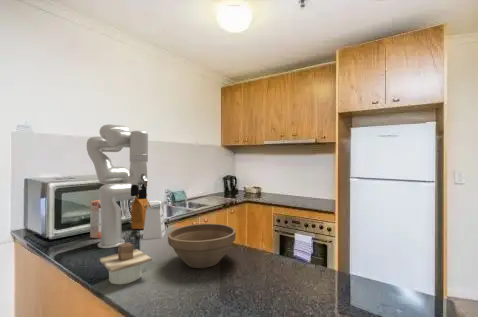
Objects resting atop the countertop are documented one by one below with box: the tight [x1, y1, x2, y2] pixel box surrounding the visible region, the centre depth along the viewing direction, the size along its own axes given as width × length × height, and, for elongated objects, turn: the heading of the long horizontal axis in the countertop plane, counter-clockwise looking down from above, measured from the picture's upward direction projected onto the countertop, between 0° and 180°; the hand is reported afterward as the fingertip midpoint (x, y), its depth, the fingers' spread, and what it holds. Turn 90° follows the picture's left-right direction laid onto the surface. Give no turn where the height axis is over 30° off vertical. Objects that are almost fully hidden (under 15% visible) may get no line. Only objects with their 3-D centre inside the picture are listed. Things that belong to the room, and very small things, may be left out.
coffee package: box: [130, 194, 152, 230], centre depth 164 cm, size 10×12×22 cm
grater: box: [142, 200, 166, 240], centre depth 146 cm, size 10×10×20 cm
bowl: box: [108, 264, 143, 285], centre depth 94 cm, size 11×11×6 cm
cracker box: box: [89, 199, 101, 239], centre depth 149 cm, size 14×6×21 cm, turn 168°
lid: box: [99, 242, 153, 273], centre depth 94 cm, size 14×14×6 cm
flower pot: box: [167, 223, 237, 269], centre depth 108 cm, size 28×28×13 cm
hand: (138, 197), depth 112 cm, fingers open, 9 cm apart
